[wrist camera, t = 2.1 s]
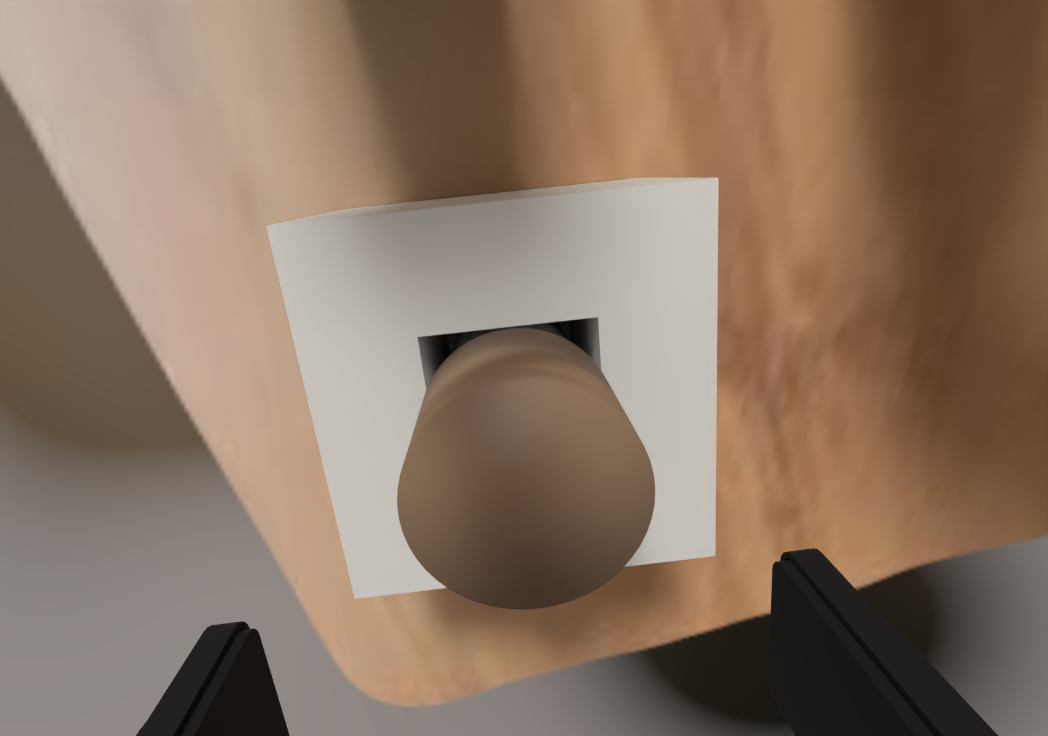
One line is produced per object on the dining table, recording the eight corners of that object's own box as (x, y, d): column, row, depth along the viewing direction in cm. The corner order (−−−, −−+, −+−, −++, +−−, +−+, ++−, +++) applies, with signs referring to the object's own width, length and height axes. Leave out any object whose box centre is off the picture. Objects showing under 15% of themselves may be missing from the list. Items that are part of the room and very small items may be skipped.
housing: (639, 177, 27) (718, 177, 18) (648, 442, 32) (715, 556, 22) (345, 208, 27) (266, 225, 18) (396, 471, 31) (354, 598, 22)
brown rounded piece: (569, 269, 27) (651, 367, 13) (578, 393, 30) (658, 593, 15) (435, 283, 27) (375, 398, 13) (454, 407, 29) (419, 622, 15)
